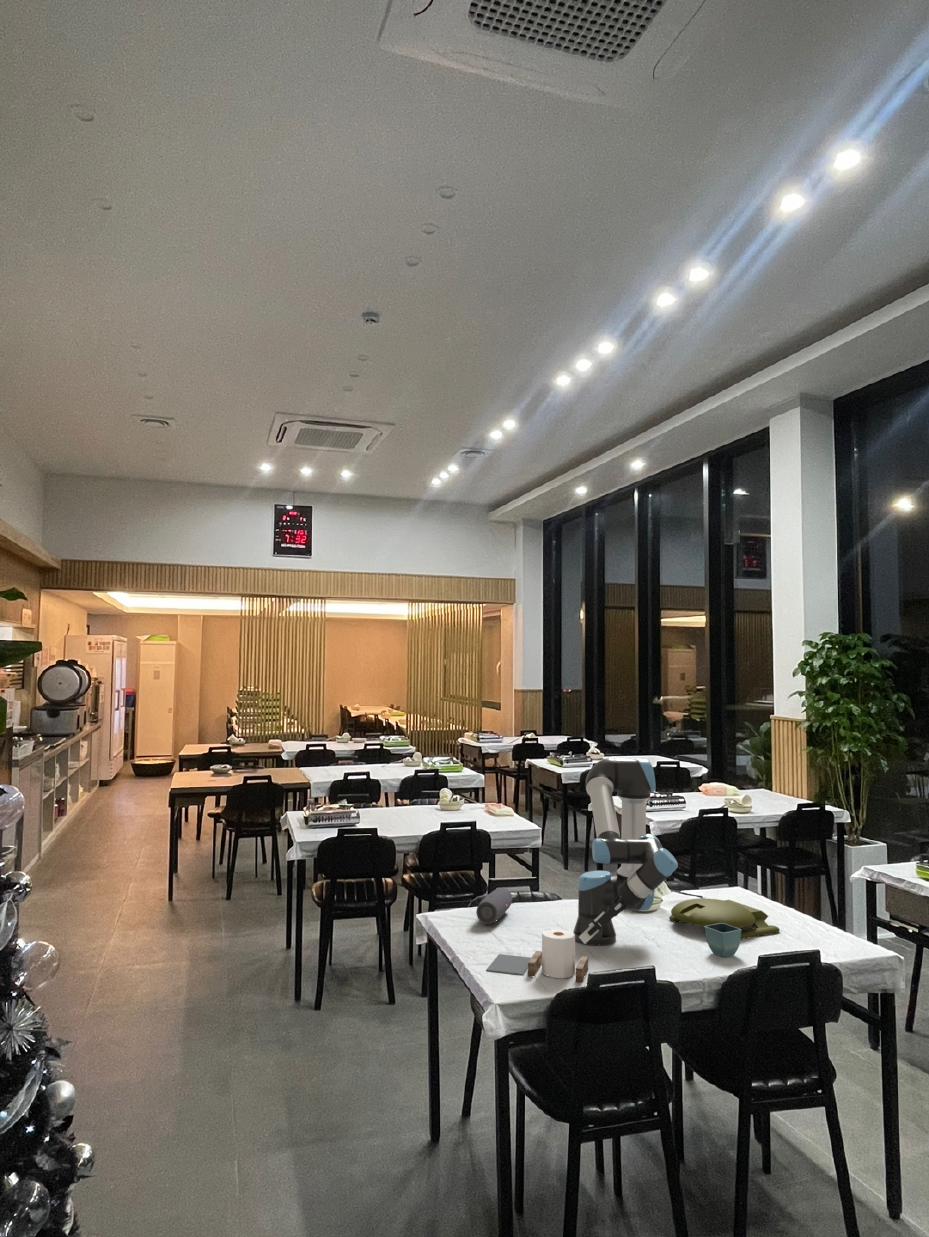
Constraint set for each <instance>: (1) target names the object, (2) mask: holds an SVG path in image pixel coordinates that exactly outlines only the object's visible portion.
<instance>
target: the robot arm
mask: <svg viewBox="0 0 929 1237" xmlns="http://www.w3.org/2000/svg"><path fill="white" fill-rule="evenodd" d="M585 791H586V793H587V796H589V797H590V804H591V810H592V816H593V820H594V821H593V822H594V828H595V835H596V838H593V840H592V845H591V853H592V860H593V862H595V863H597V864H605V865H606V864H607V865H609V864H616V865H617V864H619V865H620V867H619V868H618V869H616V875H612V874H611V872H610V871H608V870H592V871H586V872H583V873H582V874H581V875H580V876H579V877H578V882H577V883H578V885H577V891H578V893H577V894H578V896H577V900H578V901H577V902H578V904H577V905H578V906H577V908H578V909H577V910H578V911H577V912H578V916H577V919H576V923H575V925H574V929H573V931H572V932H573V933H574V934H575V942H577V943H580V944H583V945H590V946H608V945H612V944H614V943H616V941H617V933H616V930H615V926H614V923H613V920H612V919H613V918H614V917H617V916H618V915H619V914H620V913H622V912H623V911H634V912H641V911H648V910H650V909H651V908H652V906H653V903H654V899H655V891H656V890H655V889H657V888H658V887H659V886H661V884H662V883H664V881H666V880H667V879H668V878H669V877H670V876H672V874H673V873H674V872H675V871H676V870H677V868H678V867H679V864H678V861H677V859H676V858H675V856H673V854H672V852H670V851H669V850H668V849H666V848H664V847H663V845H662V844H661V842H660V840H659V838H658V837H657V836H655V835H654V834H651V833H647V832H646V830H647V829H646V828H647V827H646V826H647V825H646V824H647V820H646V818H647V808H646V807H647V801H648V800H650V798H651V793H654V792H655V791H656V777H655V771H654V768H653V764H652V763H651V761H649V760H648V759H646V758H638V757H635V758H633V757H631V758H621V757H620V758H619V757H618V758H612V757H608V758H603V759H601V760H599V761H598V762H596V763H595V764H594V765H592V766H591V768H590V769H589V771H588V773H587V774H586V778H585ZM613 792H617V797H618V798H619V799H620V800H621V834H620V829H619V823H618V819H617V817H618V816H617V813H616V808H615V803H614V798H613Z"/></svg>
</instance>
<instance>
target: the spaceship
mask: <svg viewBox="0 0 929 1237" xmlns="http://www.w3.org/2000/svg"><path fill="white" fill-rule="evenodd" d="M670 912H671V913H670V915H669V920H670V921H671V922H673V921H675V922H674V923H680V922H679V921H682V923H683V922H684V923H687V924H691V925H694V926H700V927H704V928H705V926H708V925H713V924H718V923H725V924H728V925H730V926H733V927H736V928H739V929H741V928H743V929H741V938H740V940H743V938H744V939H748V937H750V938H753V937H754V936H756V937H759V936H758V935H762V936H765V935H764V934H768V935H770V934H769V933H774V934H777V932H778V933H779V932H780V928H779V927H777V926H776V925H772V924H771V925H769V924H768V923H767V922H766V921H767V918H768V917H769V915H767V914H766V913H765V912H764V911H763V910H761V909H758V908H755V907H752V906H749V905H745V904H742V903H739V902H736V901H734V900H731V899H717V898H693V899H687V900H683V901H681V902H678V903H676V904H675V905H674V906H673V907H672V908H671V911H670ZM750 926H754V927H752V928H751V927H750ZM745 927H750V928H745ZM744 928H745V929H744Z"/></svg>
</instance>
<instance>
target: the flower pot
mask: <svg viewBox="0 0 929 1237" xmlns="http://www.w3.org/2000/svg"><path fill="white" fill-rule="evenodd" d="M741 930H742V929H741V928H736V927H733V926H730V925H728V924H725V923H718V924H713V925H708V926H705V927H704V931H705V938H706V943H707V944H708V948H709V949H710V951H711V952H712V953H713V954H714V953H715V954H714V955H716V956H719V957H722V958H726V957H731V955H732V956H734V955H735V954H736V953H737V952H738V949H739V947H740V944H741V939H740V938H741Z"/></svg>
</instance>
